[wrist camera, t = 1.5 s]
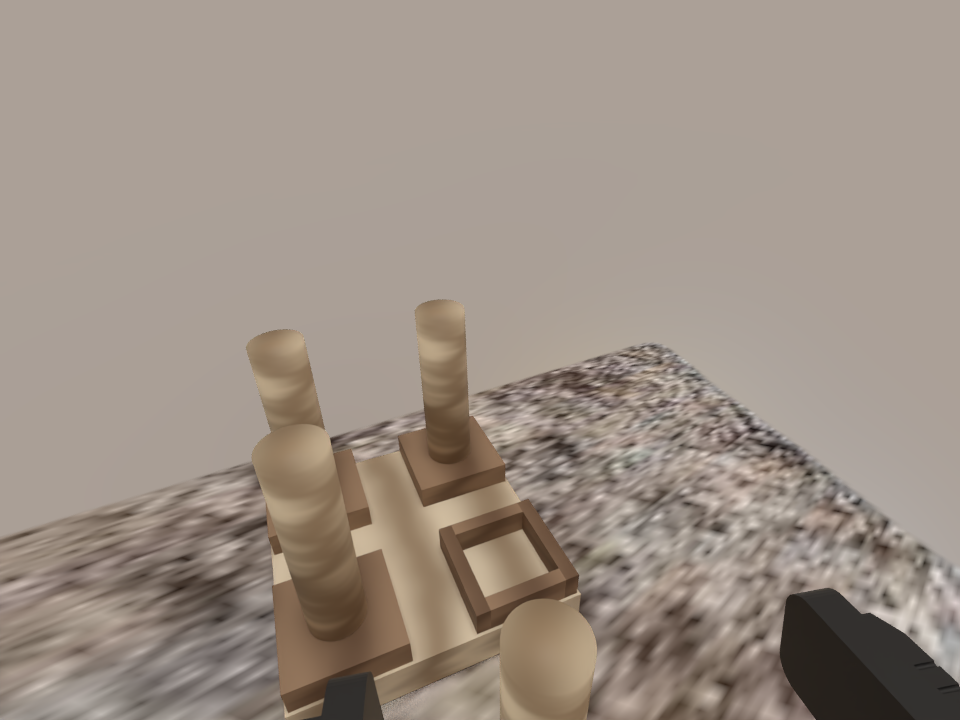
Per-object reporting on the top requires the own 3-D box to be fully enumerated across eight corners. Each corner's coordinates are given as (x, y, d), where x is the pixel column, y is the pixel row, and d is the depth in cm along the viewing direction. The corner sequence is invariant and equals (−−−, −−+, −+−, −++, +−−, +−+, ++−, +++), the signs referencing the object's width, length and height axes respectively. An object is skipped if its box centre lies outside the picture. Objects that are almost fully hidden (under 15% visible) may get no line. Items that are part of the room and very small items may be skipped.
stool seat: (295, 742, 32) (201, 530, 22) (274, 512, 47) (214, 329, 38) (577, 619, 38) (603, 412, 28) (475, 452, 54) (469, 282, 44)
